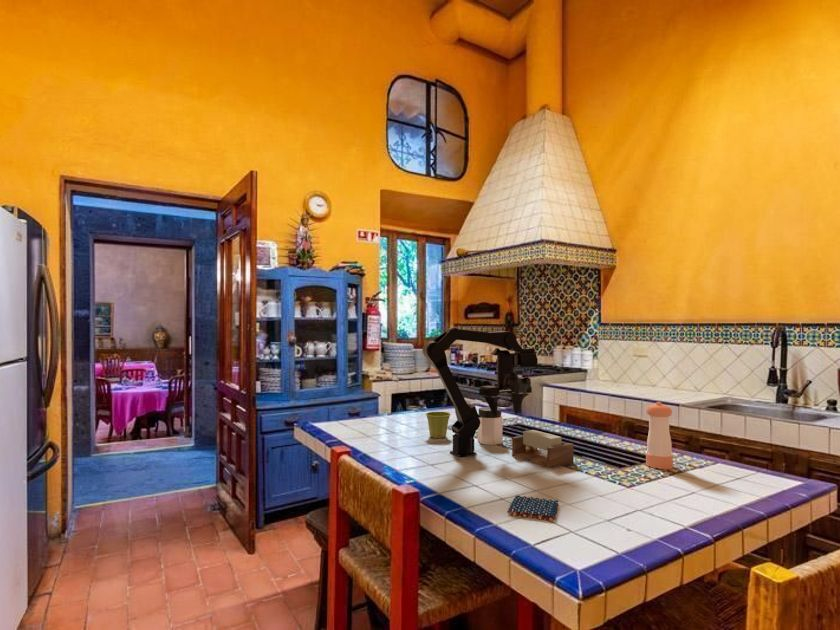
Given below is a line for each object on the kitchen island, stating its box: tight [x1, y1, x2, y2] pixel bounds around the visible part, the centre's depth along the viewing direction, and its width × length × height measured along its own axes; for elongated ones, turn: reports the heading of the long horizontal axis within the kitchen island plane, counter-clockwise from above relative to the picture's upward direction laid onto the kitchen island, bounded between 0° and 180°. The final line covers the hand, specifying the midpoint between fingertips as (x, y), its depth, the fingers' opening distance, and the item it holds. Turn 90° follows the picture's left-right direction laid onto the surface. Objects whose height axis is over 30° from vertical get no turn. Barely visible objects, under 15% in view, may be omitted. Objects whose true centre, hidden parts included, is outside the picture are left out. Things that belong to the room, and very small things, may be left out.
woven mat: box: [506, 495, 560, 522], centre depth 115 cm, size 10×11×2 cm
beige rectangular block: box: [522, 429, 563, 452], centre depth 158 cm, size 12×4×4 cm, turn 32°
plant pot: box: [425, 411, 452, 439], centre depth 189 cm, size 9×9×9 cm
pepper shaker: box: [645, 401, 674, 470], centre depth 151 cm, size 7×7×19 cm
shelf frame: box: [511, 435, 575, 469], centre depth 158 cm, size 16×10×6 cm, turn 32°
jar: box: [477, 406, 503, 446], centre depth 181 cm, size 9×8×12 cm
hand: (505, 415), depth 168 cm, fingers open, 9 cm apart
